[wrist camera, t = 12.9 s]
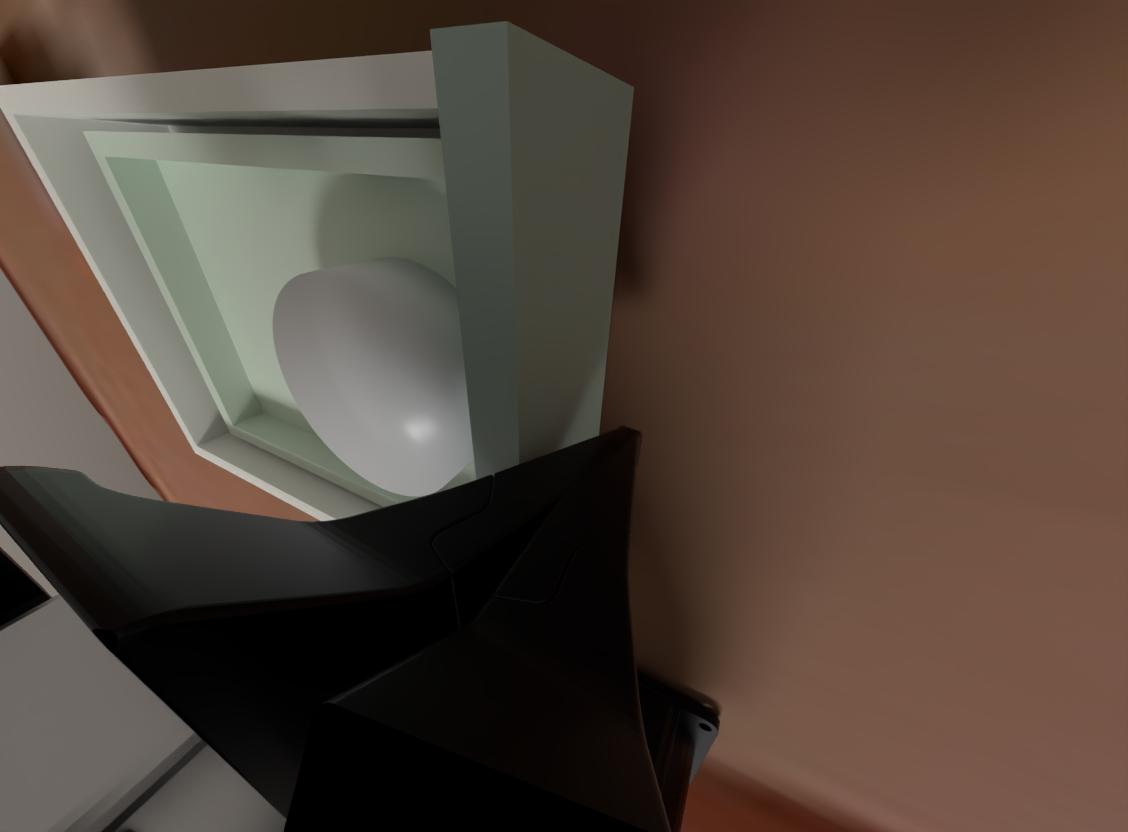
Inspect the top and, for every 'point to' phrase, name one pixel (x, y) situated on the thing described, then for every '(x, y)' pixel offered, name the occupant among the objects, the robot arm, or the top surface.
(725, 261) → the top surface
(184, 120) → the shallow white bin
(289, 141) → the drawer
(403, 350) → the dome
